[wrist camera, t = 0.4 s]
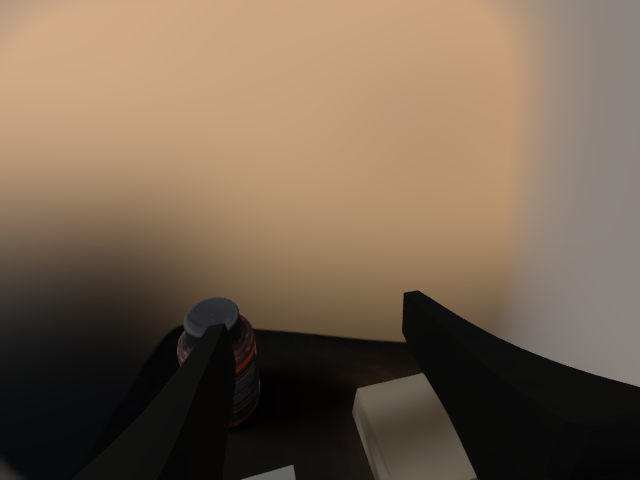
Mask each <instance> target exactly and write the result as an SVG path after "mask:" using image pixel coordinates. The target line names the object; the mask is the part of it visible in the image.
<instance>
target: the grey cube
mask: <svg viewBox="0 0 640 480" xmlns="http://www.w3.org/2000/svg"><path fill="white" fill-rule="evenodd" d="M242 480H295V474H294V468H293V465H291V466H288V467H284V468H281V469H277V470H274V471H270V472H267V473H263V474H260V475H256V476H253V477H249V478H246V479H242Z"/></svg>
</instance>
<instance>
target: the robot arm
mask: <svg viewBox="0 0 640 480" xmlns="http://www.w3.org/2000/svg"><path fill="white" fill-rule="evenodd" d="M402 332H403V335H404V337H405V339H406V342H407V344H408V346H409V348H410V351H411V353H412V355H413V356H414V358H415V360H416V362H417V363H418V365H419V367H420V368H421V370H422V372H423V373H424V375H425V377H426V378H427V380H428V382H429V383H430V385H431V387H432V388H433V390H434V392H435V393H436V395H437V397H438V398H439V400H440V402H441V403H442V405H443V407H444V409H445V411H446V412H447V414H448V416H449V418H450V420H451V422H452V425H453V427H454V429H455V431H456V433H457V435H458V437H459V439H460V441H461V443H462V446H463V448H464V450H465V452H466V454H467V457H468V459H469V461H470V463H471V465H472V468H473V470H474V472H475V474H476V477H477V479H478V480H640V387H637V386H634V385H630V384H627V383H623V382H619V381H616V380H611V379H608V378H604V377H601V376H597V375H594V374H591V373H588V372H585V371H581V370H578V369H575V368H572V367H569V366H566V365H563V364H560V363H558V362H555V361H552V360H549V359H547V358H544V357H541V356H539V355H537V354H534V353H532V352H529V351H527V350H524V349H522V348H520V347H517V346H515V345H513V344H511V343H508V342H506V341H504V340H502V339H500V338H498V337H496V336H494V335H492V334H490V333H488V332H486V331H485V330H483V329H481V328H479V327H477V326H475V325H473V324H472V323H470V322H468V321H467V320H465V319H463V318H461V317H460V316H458V315H456V314H455V313H453V312H452V311H450V310H448V309H447V308H445V307H443V306H442V305H440V304H439V303H437V302H436V301H434V300H432V299H431V298H430V297H428V296H426V295H424V294H423V293H421V292H420V291H412V292H406V293H404V299H403V324H402ZM235 379H236V360H235V356H234V352H233V349H232V345H231V342H230V338H229V335H228V331H227V328H226V324H225V323H222V324H216V325H210V326H208V328H207V329H206V330H205V332H204V333H203V335H202V336H201V338H200V339H199V341H198V342H197V344H196V345H195V347H194V348H193V350H192V351H191V352H190V354H189V355H188V357H187V358H186V359H185V361H184V362H183V364H182V365H181V366H180V368H179V369H178V370H177V372H176V373H175V374H174V376H173V377H172V378H171V379H170V381H169V382H168V383H167V384H166V386H165V387H164V388H163V389H162V391H161V392H160V393H159V394H158V396H157V397H156V398H155V399H154V400H153V401H152V403H151V404H150V405H149V406H148V407H147V408H146V409H145V410H144V412H143V413H142V414H141V415H140V416H139V417H138V418H137V419H136V420H135V421H134V422H133V423H132V424H131V425H130V426H129V427H128V428H127V429H126V430H125V431H124V432H123V433H122V434H121V435H120V436H119V437H118V438H117V439H116V440H115V441H114V442H113V443H112V444H111V445H110V446H109V447H108V448H107V449H105V450H104V451H103V452H102V453H101V454H100V455H99V456H98V457H97V458H96V459H94V460H93V461H92V462H91V463H90V464H89V465H88V466H87V467H85V468H84V469H83V470H82V471H81V472H80V473H78V474H77V475H76V476H75V477H74V478H72V479H71V480H223V466H224V457H225V449H226V442H227V436H228V430H229V424H230V417H231V411H232V405H233V398H234V392H235Z"/></svg>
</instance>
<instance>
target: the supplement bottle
mask: <svg viewBox="0 0 640 480" xmlns="http://www.w3.org/2000/svg"><path fill="white" fill-rule="evenodd" d="M222 323H225V324H226V328H227V331H228V335H229V338H230V342H231V345H232V349H233V352H234V356H235V360H236V379H235V392H234V398H233V405H232V411H231V417H230V424H229V428H230V427H233V426H236V425H238V424H240V423H241V422H243V421H244V420H245V419H247V418H248V417H249V416H250V415H251V413H252V412H253V411H254V409H255V408H256V406H257V403H258V401H259V396H260V381H259V372H258V363H257V353H256V344H255V335H254V331H253V328H252V326H251V324H250V323H249V322H248V321H247V319H245V318H244V317H243V316H242V315H240V314H239V310H238V307H237V306H236V304H235V303H234V302H232V301H231V300H229V299H226V298H209V299H205V300H203V301H200V302H199V303H197V304H195V305H194V306H193V307H192V308H190V309H189V311H188V312H187V313H186V315H185V317H184V322H183V324H184V329H185V330H184V332H183V333H182V335H181V337H180V339H179V342H178V347H177V354H178V359H179V363H180V366H181V365H182V364H183V362H184V361H185V359H186V358H187V357H188V355H189V354H190V352H191V351H192V350H193V348H194V347H195V345H196V344H197V342H198V341H199V339H200V338H201V336H202V335H203V333H204V332H205V330H206V329H207V328H208V326H210V325H216V324H222Z"/></svg>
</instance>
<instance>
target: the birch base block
mask: <svg viewBox="0 0 640 480" xmlns="http://www.w3.org/2000/svg"><path fill="white" fill-rule="evenodd" d="M352 414H353V417H354V420H355V423H356V426H357V429H358V432H359V435H360V437H361V440H362V443H363V446H364V449H365V452H366V455H367V458H368V461H369V464H370V466H371V469H372V472H373V475H374V478H375V480H478V479H477V477H476V474H475V472H474V470H473V468H472V465H471V463H470V461H469V459H468V457H467V454H466V452H465V450H464V448H463V446H462V443H461V441H460V439H459V437H458V435H457V433H456V431H455V429H454V427H453V425H452V422H451V420H450V418H449V416H448V414H447V412H446V411H445V409H444V407H443V405H442V403H441V402H440V400H439V398H438V397H437V395H436V393H435V392H434V390H433V388H432V387H431V385H430V383H429V382H428V380H427V378H426V377H425V375H424V373H422V374H418V375H413V376H409V377H405V378H400V379H396V380H392V381H388V382H383V383H379V384H375V385H371V386H366V387H362V388H358V389H357V393H356V397H355V401H354V406H353V410H352Z"/></svg>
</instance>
